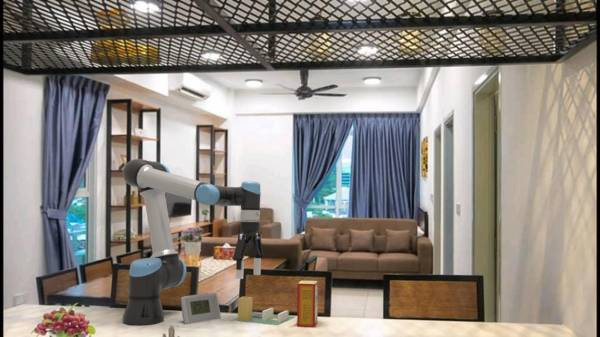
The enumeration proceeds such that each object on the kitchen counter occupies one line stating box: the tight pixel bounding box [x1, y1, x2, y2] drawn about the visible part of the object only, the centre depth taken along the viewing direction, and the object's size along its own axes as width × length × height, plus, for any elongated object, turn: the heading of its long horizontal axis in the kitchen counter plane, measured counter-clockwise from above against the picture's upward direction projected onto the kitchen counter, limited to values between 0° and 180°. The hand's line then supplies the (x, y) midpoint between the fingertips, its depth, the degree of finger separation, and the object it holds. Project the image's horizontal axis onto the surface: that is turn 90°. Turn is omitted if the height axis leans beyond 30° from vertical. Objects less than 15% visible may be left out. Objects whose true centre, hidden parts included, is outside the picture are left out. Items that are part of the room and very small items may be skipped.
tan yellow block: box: [237, 296, 254, 320], centre depth 186 cm, size 4×4×8 cm
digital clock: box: [180, 292, 222, 327], centre depth 183 cm, size 16×9×11 cm, turn 123°
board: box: [230, 307, 296, 326], centre depth 187 cm, size 20×17×5 cm
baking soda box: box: [296, 279, 319, 329], centre depth 184 cm, size 10×6×16 cm
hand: (248, 276), depth 186 cm, fingers open, 13 cm apart
